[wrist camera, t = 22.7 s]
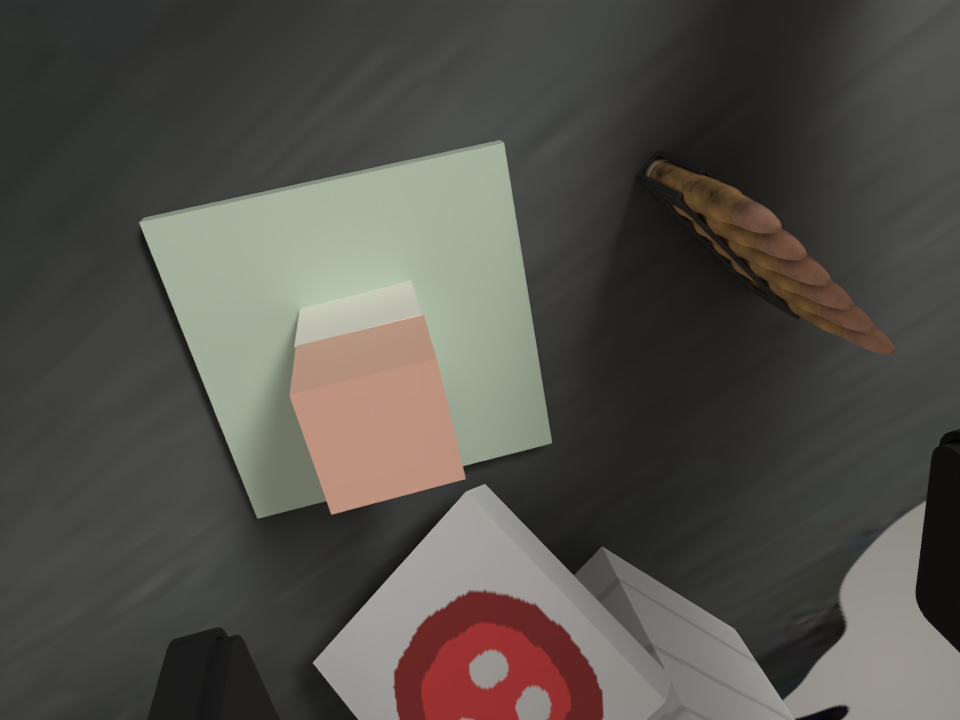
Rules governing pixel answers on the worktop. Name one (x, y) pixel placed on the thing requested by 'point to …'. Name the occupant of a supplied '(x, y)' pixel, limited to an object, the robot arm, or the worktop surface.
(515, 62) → the worktop surface
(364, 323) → the cream brick
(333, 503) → the coral brick
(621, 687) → the pizza boxes
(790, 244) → the ammunition clip
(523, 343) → the base plate
